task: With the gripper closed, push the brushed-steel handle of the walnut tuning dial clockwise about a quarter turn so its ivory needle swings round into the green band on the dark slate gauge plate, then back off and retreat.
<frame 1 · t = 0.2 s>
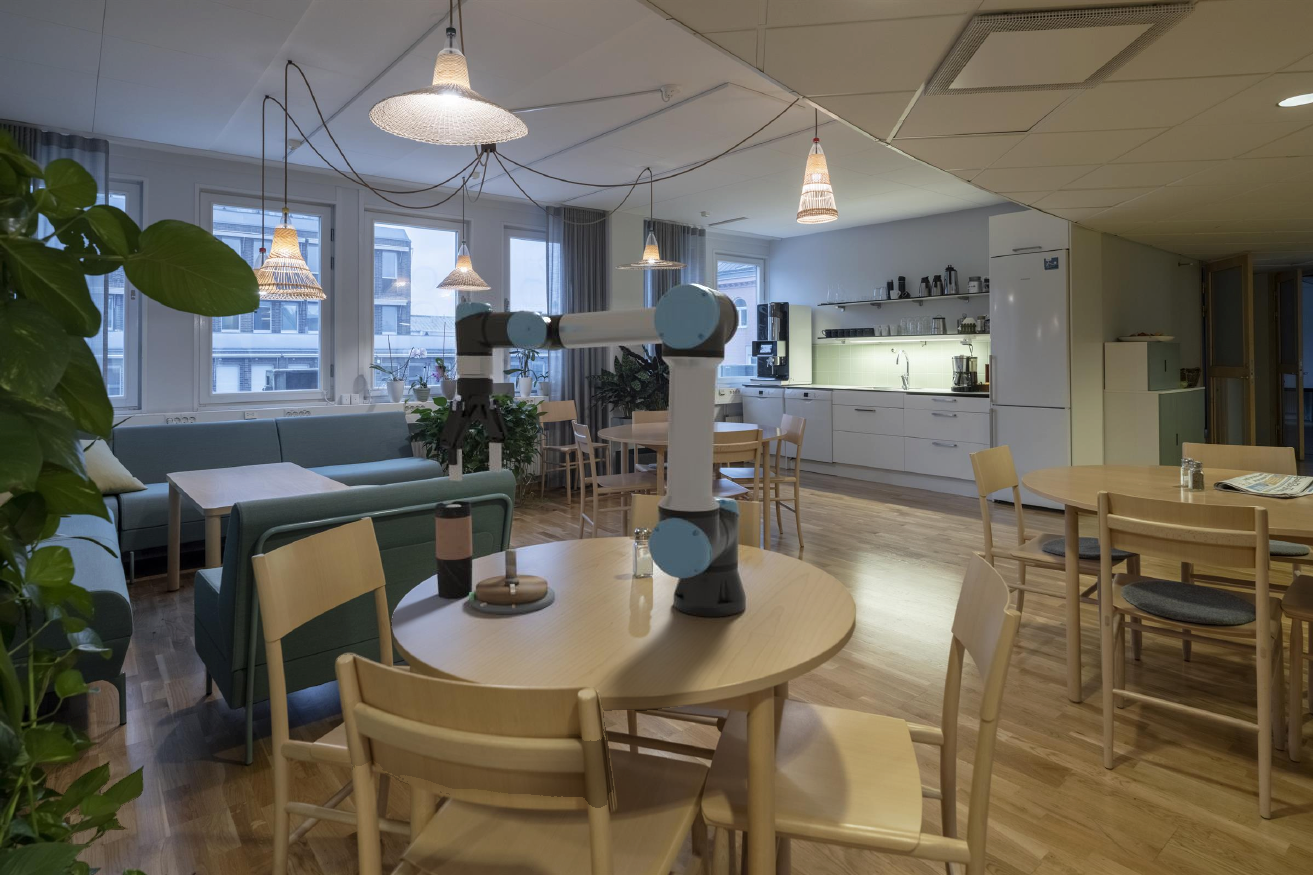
hand: (476, 476, 157), 26 cm above the table, fingers open, 13 cm apart
travel mug: (455, 594, 161), on the table
dial: (511, 575, 156), point 5 cm above the table, hinge at 125.0°
gauge plate: (512, 600, 157), on the table
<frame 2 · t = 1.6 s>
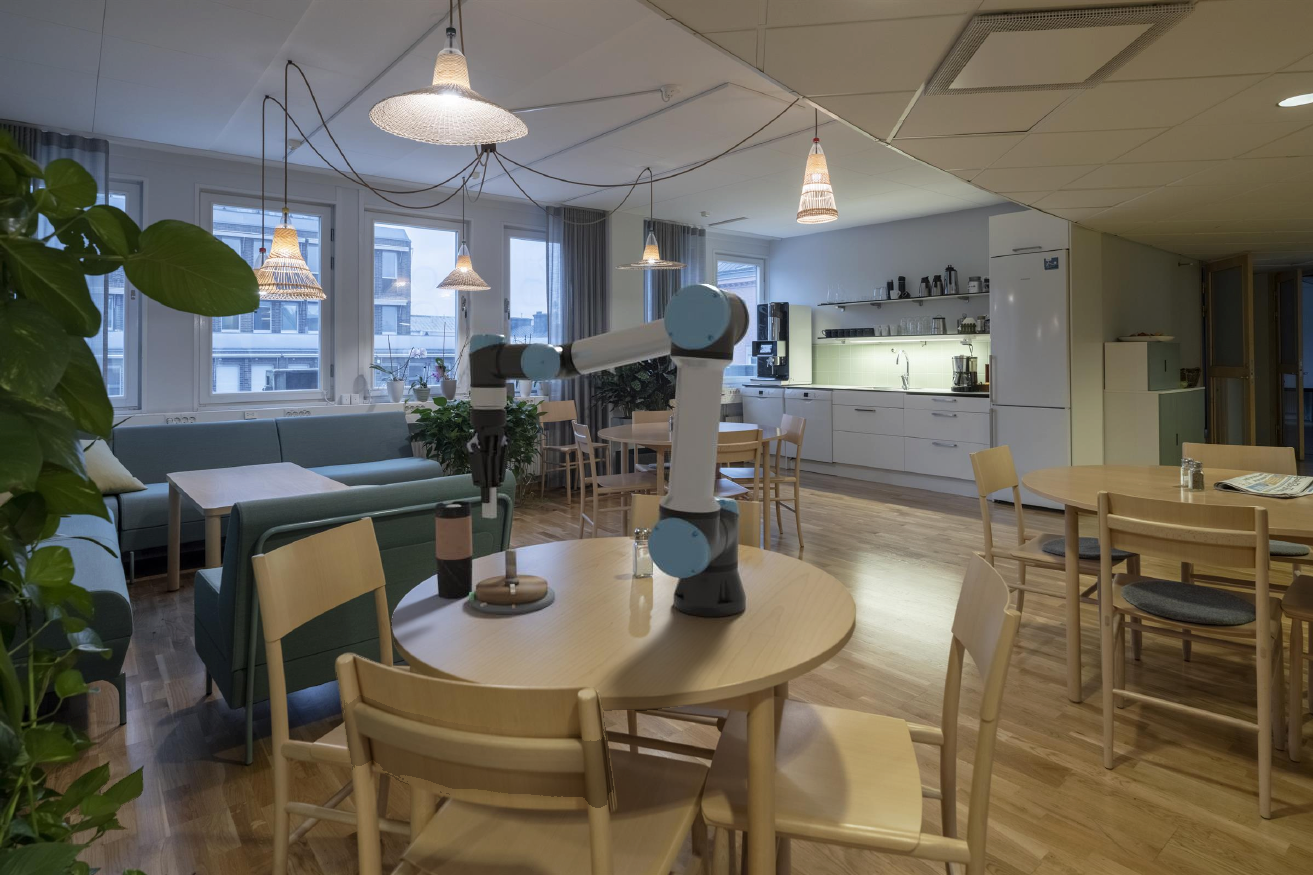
hand: (489, 517, 158), 17 cm above the table, fingers closed
nothing on the table moved.
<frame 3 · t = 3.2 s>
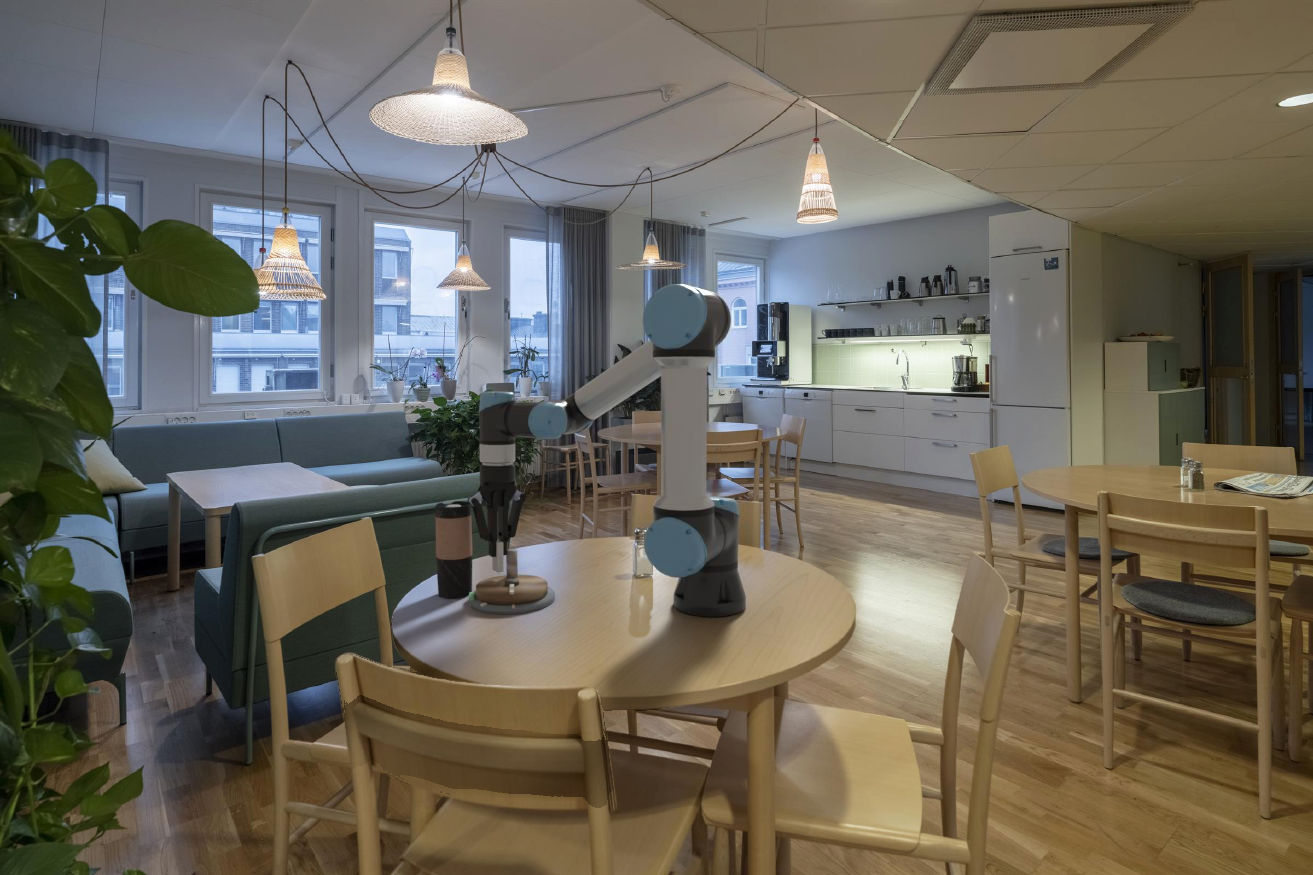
hand: (497, 570, 160), 5 cm above the table, fingers closed
dial: (511, 575, 156), point 5 cm above the table, hinge at 122.7°, touching gripper
everything else where it was.
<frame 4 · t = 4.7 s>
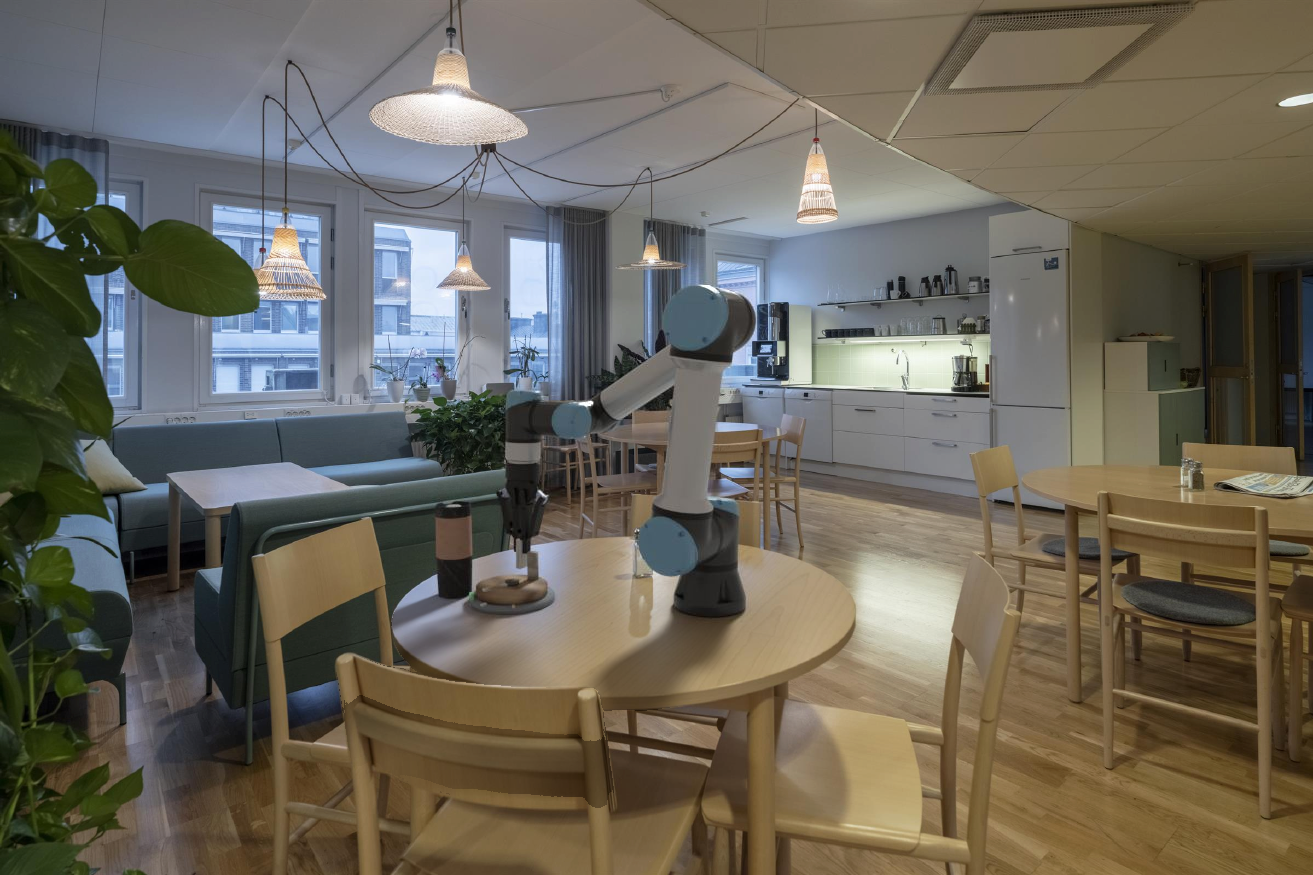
hand: (521, 567, 162), 6 cm above the table, fingers closed
dial: (511, 575, 156), point 5 cm above the table, hinge at 67.8°, touching gripper
everything else where it was.
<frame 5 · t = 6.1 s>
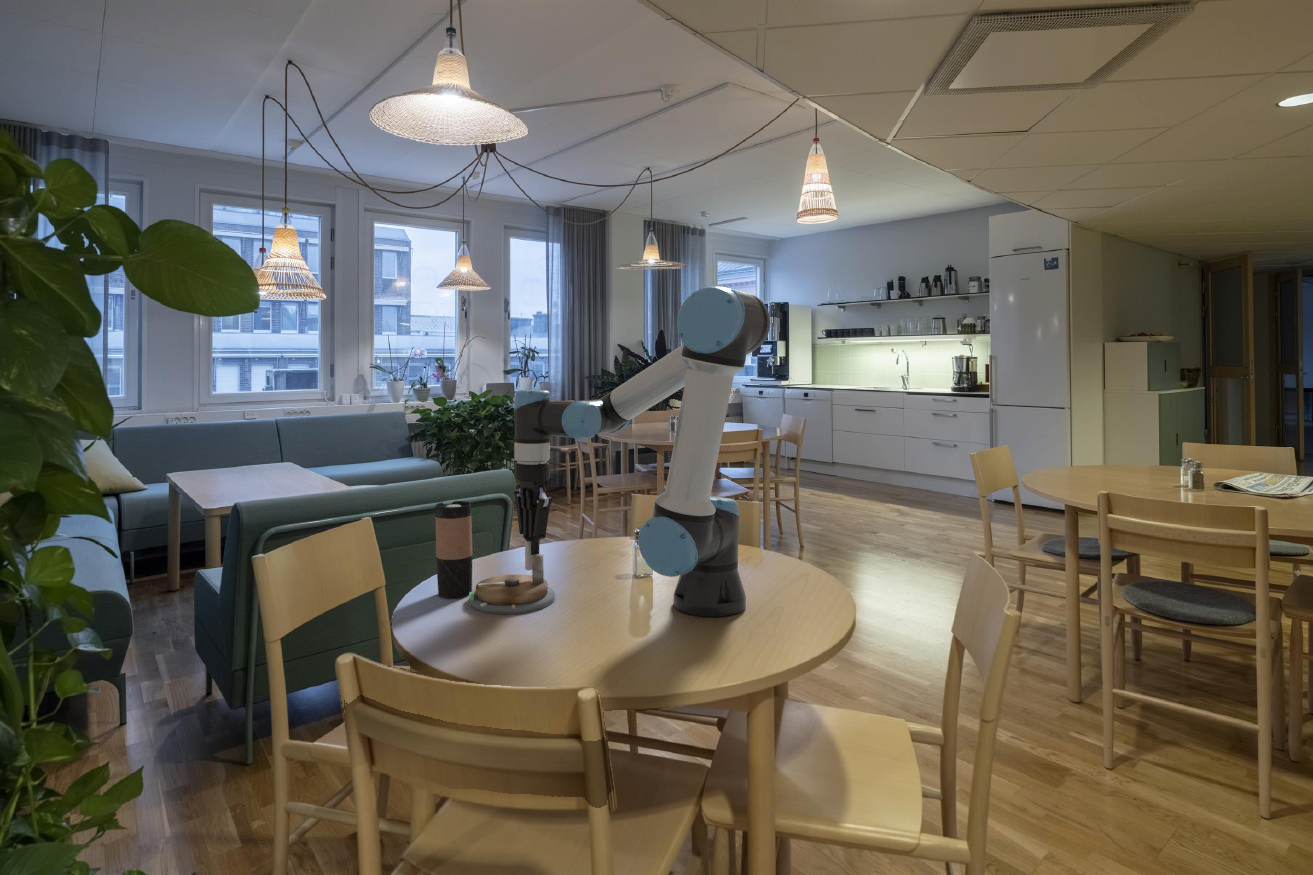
hand: (532, 568, 160), 6 cm above the table, fingers closed
dial: (511, 575, 156), point 5 cm above the table, hinge at 35.9°, touching gripper
everything else where it was.
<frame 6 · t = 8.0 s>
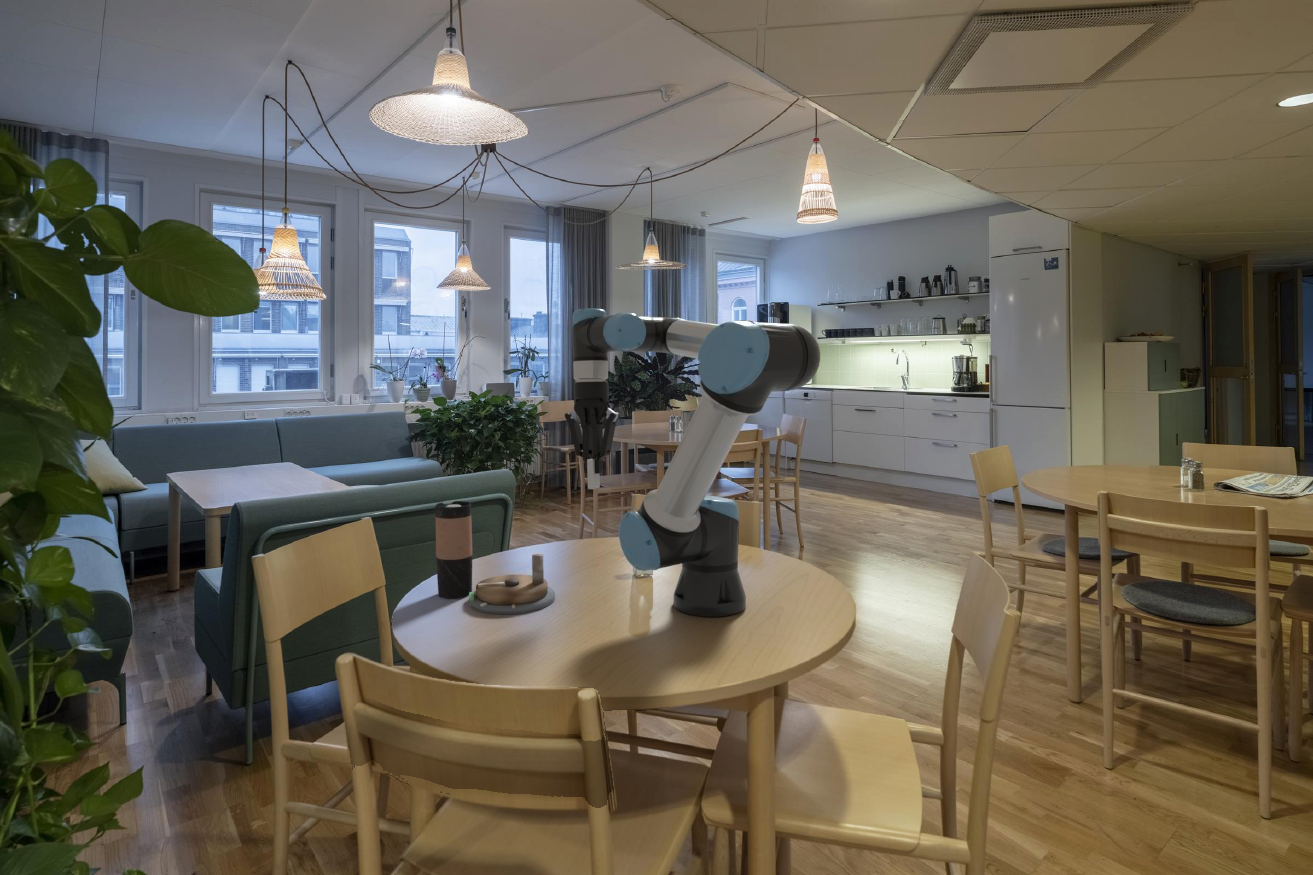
hand: (593, 488, 162), 23 cm above the table, fingers closed
dial: (511, 575, 156), point 5 cm above the table, hinge at 35.9°
everything else where it was.
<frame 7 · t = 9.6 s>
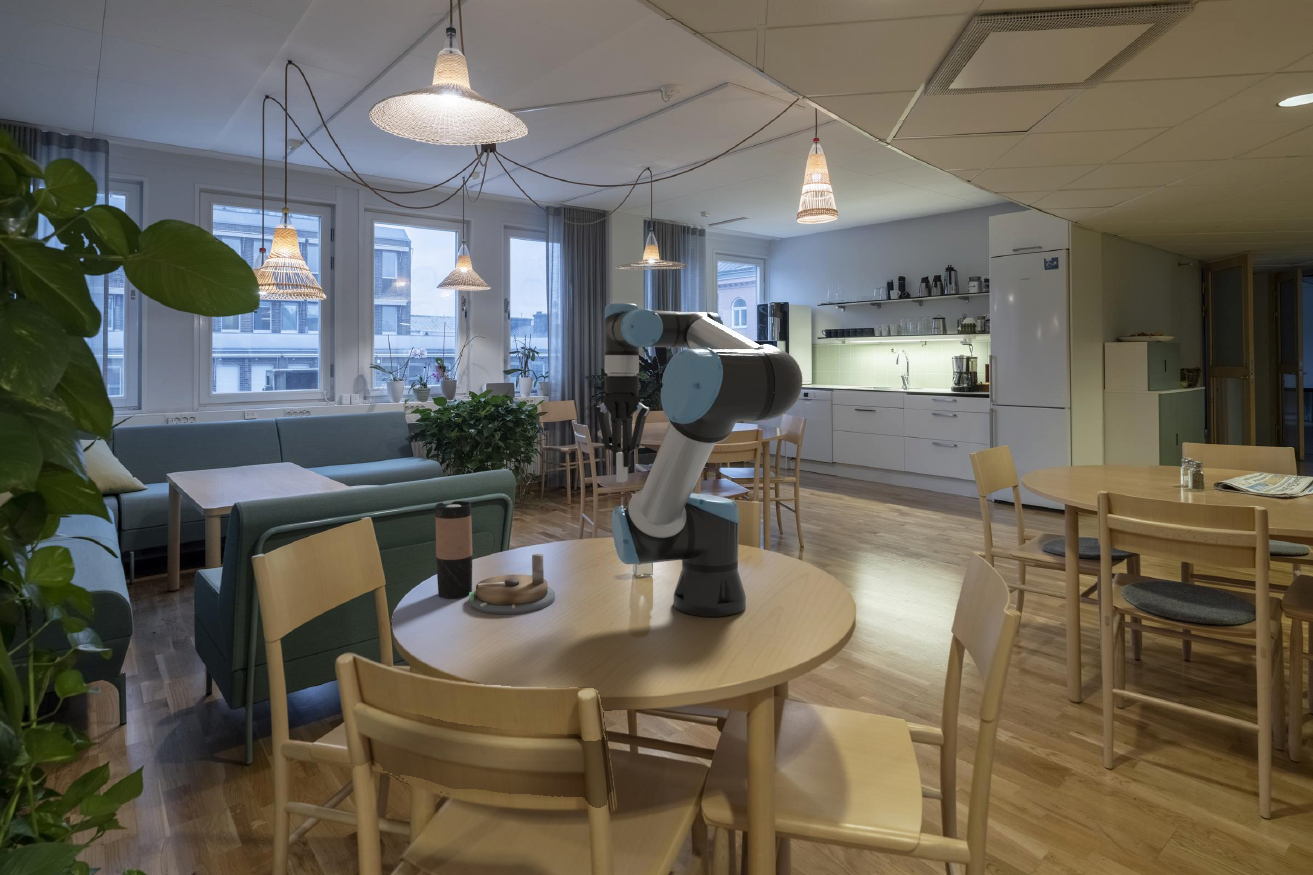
hand: (621, 481, 163), 24 cm above the table, fingers closed
nothing on the table moved.
at the end: dial at +36° (first picture: +125°) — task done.
